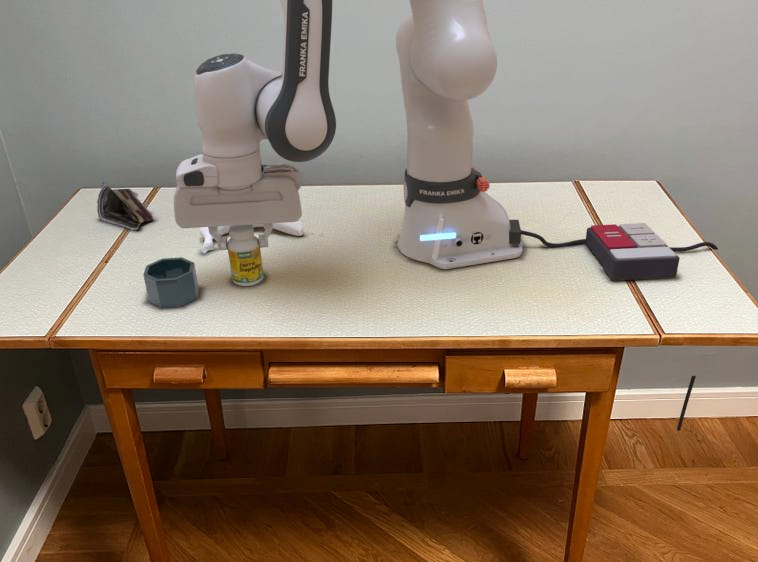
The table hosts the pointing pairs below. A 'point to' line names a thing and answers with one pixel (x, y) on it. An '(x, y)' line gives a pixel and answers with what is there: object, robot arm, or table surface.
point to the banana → (286, 227)
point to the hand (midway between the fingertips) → (243, 247)
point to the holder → (171, 282)
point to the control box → (631, 252)
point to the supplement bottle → (244, 255)
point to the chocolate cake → (122, 208)
